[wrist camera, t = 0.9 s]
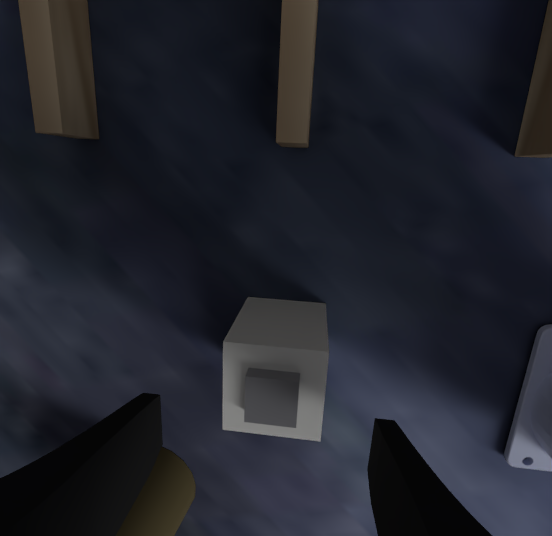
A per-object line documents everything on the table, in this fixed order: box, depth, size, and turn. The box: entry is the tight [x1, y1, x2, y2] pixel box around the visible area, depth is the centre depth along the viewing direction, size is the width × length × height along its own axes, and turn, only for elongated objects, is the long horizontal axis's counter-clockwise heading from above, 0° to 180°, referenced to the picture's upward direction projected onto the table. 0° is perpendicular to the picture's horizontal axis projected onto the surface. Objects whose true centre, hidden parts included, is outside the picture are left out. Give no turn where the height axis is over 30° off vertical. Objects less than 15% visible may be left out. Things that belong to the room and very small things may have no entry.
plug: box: [223, 297, 329, 441], centre depth 16 cm, size 4×4×6 cm
